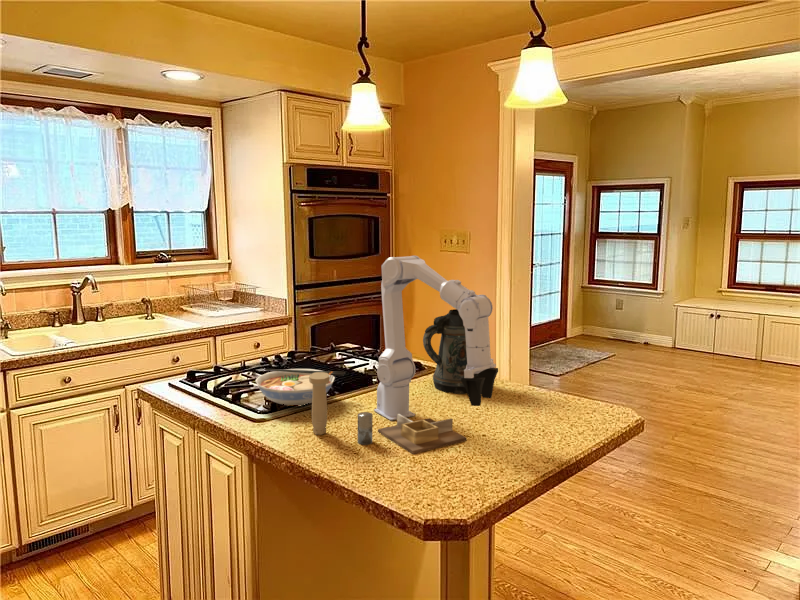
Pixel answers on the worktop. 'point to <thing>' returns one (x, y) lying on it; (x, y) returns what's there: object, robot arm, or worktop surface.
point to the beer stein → (448, 352)
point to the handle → (319, 401)
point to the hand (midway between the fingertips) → (481, 401)
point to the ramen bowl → (291, 385)
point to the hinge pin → (365, 428)
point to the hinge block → (422, 434)
